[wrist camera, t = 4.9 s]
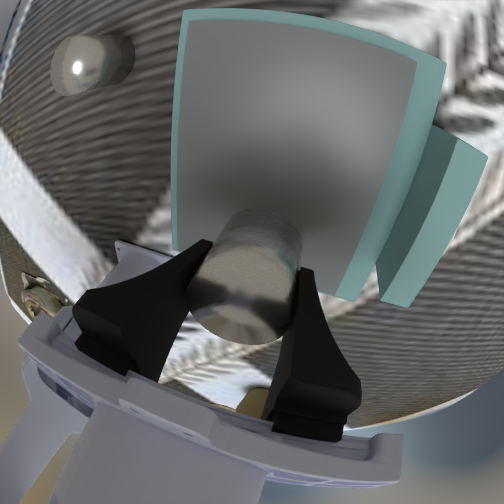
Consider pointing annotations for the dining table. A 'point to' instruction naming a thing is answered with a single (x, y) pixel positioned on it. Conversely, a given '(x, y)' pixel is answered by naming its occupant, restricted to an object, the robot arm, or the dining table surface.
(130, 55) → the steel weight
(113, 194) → the dining table surface
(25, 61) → the dining table surface
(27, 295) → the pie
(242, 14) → the scale
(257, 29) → the pan
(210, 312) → the cylinder
